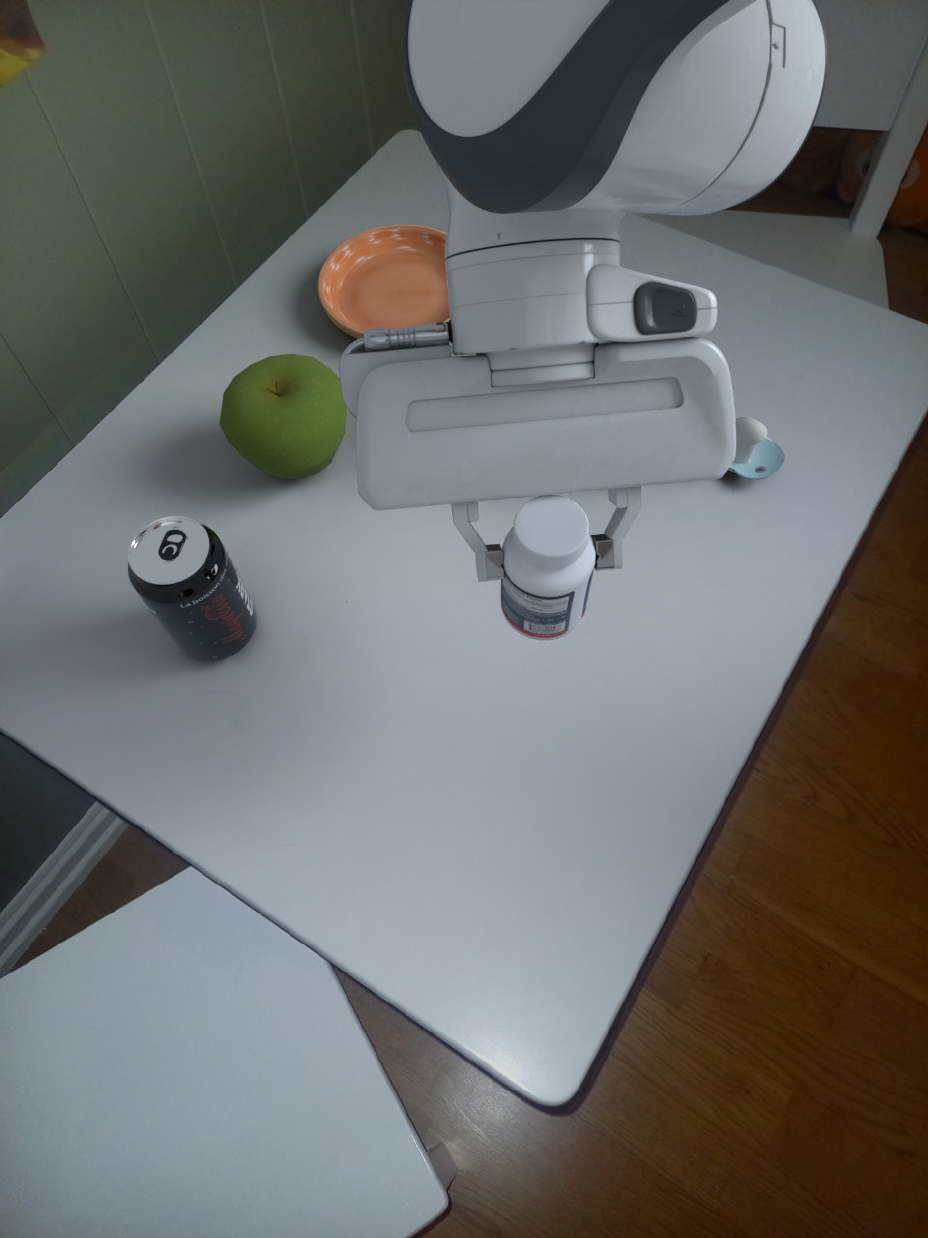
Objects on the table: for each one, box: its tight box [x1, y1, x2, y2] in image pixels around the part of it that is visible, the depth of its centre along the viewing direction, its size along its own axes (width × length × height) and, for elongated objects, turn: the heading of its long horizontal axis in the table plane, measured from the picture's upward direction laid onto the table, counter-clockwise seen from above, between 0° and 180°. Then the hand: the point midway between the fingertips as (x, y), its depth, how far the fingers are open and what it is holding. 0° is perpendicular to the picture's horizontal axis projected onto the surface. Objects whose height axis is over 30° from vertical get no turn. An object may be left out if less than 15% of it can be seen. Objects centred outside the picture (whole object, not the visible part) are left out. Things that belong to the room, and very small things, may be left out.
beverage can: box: [127, 515, 258, 663], centre depth 63 cm, size 7×7×12 cm
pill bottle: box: [500, 494, 596, 642], centre depth 48 cm, size 5×5×9 cm
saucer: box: [317, 223, 450, 340], centre depth 84 cm, size 16×16×3 cm
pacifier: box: [727, 416, 786, 481], centre depth 73 cm, size 7×6×6 cm
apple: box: [219, 353, 348, 480], centre depth 72 cm, size 11×10×10 cm
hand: (549, 573), depth 48 cm, fingers closed on pill bottle, 5 cm apart
